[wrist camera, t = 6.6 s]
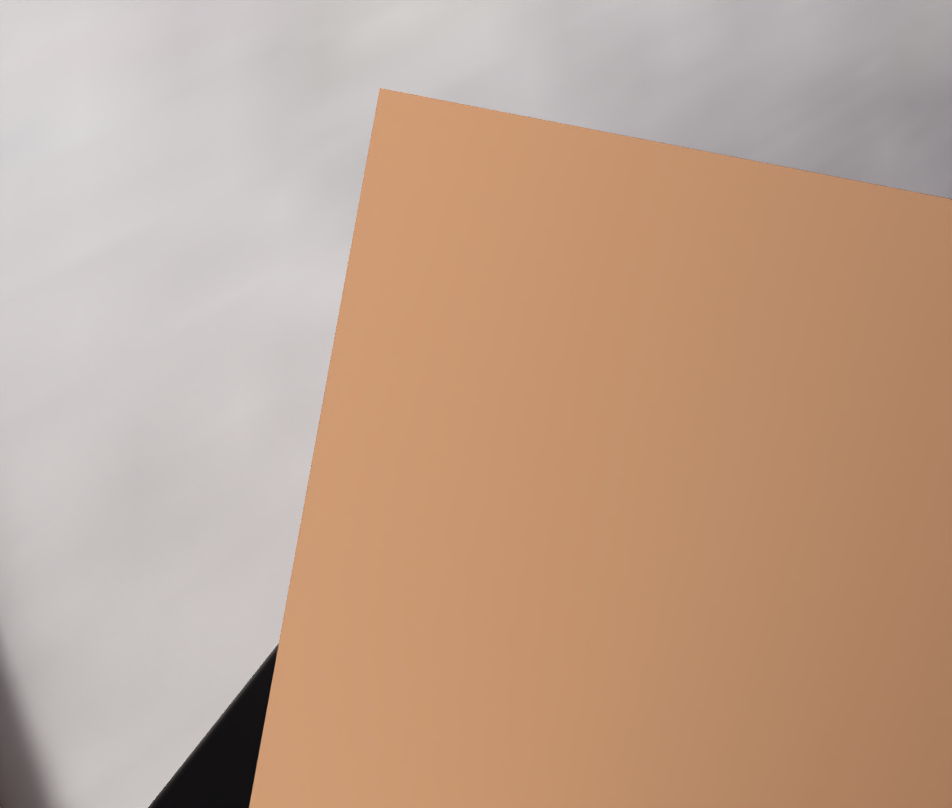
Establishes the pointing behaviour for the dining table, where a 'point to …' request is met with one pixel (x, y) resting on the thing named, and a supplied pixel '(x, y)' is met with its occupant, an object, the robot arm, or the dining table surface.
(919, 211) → the c link
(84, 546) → the dining table surface
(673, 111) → the dining table surface
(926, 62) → the dining table surface
